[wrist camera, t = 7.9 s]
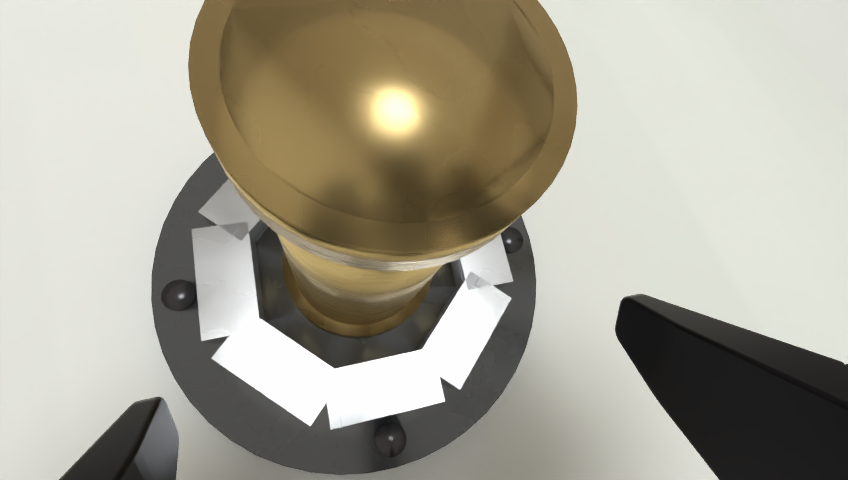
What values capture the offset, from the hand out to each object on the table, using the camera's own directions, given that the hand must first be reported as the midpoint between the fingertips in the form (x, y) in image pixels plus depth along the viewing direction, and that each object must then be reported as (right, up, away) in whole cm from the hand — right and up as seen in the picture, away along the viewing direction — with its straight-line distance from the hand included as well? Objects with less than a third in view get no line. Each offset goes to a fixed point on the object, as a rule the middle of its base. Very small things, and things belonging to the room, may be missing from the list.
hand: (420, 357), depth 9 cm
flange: (-3, +1, +11) cm, 12 cm away
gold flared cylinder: (-3, +1, +10) cm, 11 cm away
